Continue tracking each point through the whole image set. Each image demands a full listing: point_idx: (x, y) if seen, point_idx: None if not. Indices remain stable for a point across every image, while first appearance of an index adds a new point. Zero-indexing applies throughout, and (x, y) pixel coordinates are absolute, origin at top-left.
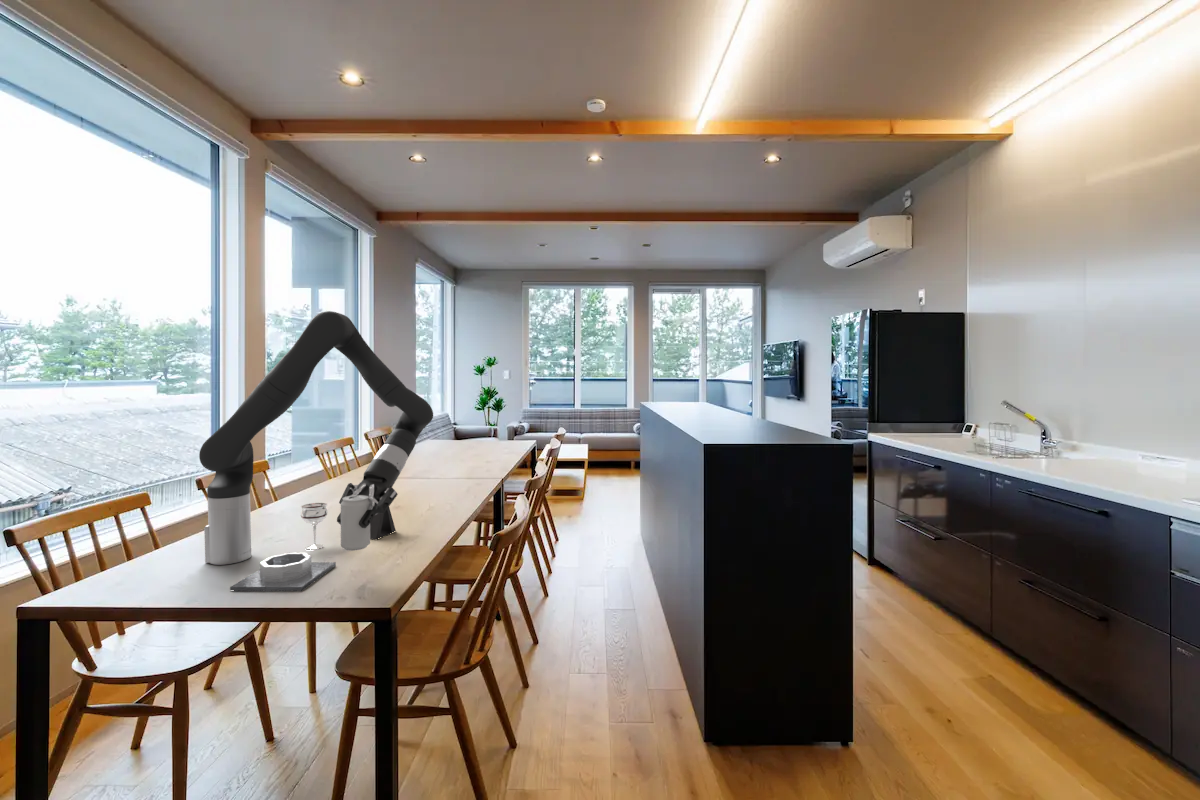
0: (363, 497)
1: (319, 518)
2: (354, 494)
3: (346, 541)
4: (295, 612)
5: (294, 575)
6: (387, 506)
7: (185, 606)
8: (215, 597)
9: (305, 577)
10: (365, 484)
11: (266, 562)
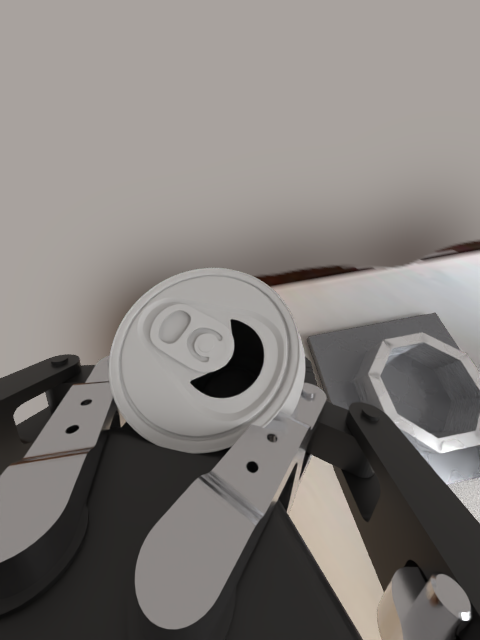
0: (147, 368)
1: None
2: (274, 434)
3: (235, 347)
4: (253, 276)
5: (362, 366)
6: (20, 424)
7: (426, 263)
8: (423, 293)
9: (344, 380)
10: (146, 587)
11: (461, 367)
